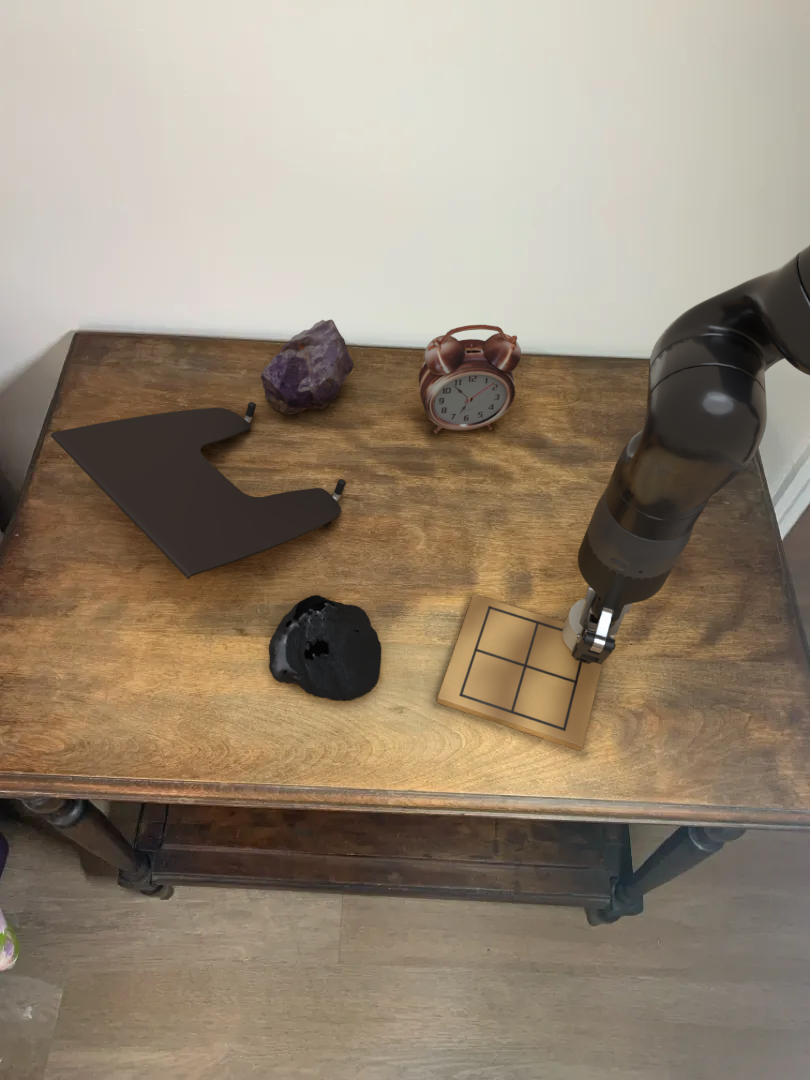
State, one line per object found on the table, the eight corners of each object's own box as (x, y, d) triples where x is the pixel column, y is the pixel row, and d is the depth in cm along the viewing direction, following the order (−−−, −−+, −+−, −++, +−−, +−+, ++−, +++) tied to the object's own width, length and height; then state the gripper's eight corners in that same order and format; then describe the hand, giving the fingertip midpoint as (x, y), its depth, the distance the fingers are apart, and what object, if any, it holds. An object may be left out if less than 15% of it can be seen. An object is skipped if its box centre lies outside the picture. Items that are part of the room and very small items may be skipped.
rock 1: (259, 406, 99) (321, 444, 96) (240, 360, 92) (307, 400, 88) (320, 344, 103) (382, 379, 99) (307, 295, 95) (374, 331, 92)
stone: (615, 622, 81) (623, 606, 78) (605, 664, 78) (614, 648, 75) (568, 608, 81) (575, 591, 79) (557, 648, 79) (564, 632, 76)
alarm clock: (420, 440, 95) (427, 344, 83) (414, 410, 98) (420, 312, 85) (511, 433, 96) (531, 337, 84) (503, 403, 99) (521, 306, 86)
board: (605, 641, 81) (608, 635, 80) (580, 751, 75) (583, 746, 74) (472, 599, 84) (473, 592, 82) (436, 702, 77) (437, 697, 76)
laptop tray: (342, 562, 92) (368, 499, 87) (174, 632, 75) (194, 559, 70) (219, 448, 101) (235, 385, 96) (43, 488, 84) (52, 414, 79)
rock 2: (320, 663, 85) (405, 665, 81) (268, 707, 77) (360, 712, 72) (302, 580, 83) (388, 578, 79) (246, 616, 75) (340, 616, 70)
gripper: (667, 625, 61) (612, 711, 75) (694, 483, 68) (638, 585, 83) (570, 595, 62) (533, 685, 76) (606, 458, 70) (567, 563, 84)
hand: (588, 632), depth 79 cm, fingers closed on stone, 4 cm apart
